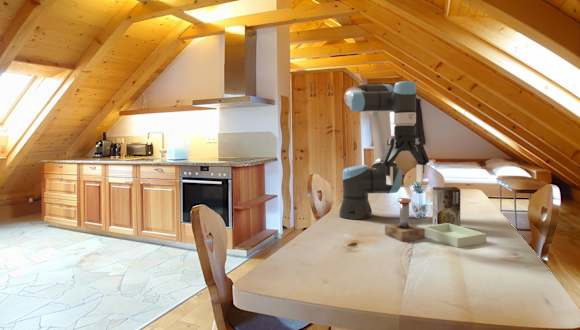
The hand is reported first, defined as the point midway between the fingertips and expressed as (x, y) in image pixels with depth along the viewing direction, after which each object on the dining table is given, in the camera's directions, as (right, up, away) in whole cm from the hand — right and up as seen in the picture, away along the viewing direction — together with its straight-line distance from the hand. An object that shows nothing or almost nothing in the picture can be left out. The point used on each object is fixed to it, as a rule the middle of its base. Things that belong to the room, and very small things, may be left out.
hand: (404, 183), depth 132 cm
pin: (0, -20, +2) cm, 20 cm away
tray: (+16, -20, -2) cm, 26 cm away
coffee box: (+21, -19, +13) cm, 31 cm away
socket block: (0, -20, +2) cm, 20 cm away
